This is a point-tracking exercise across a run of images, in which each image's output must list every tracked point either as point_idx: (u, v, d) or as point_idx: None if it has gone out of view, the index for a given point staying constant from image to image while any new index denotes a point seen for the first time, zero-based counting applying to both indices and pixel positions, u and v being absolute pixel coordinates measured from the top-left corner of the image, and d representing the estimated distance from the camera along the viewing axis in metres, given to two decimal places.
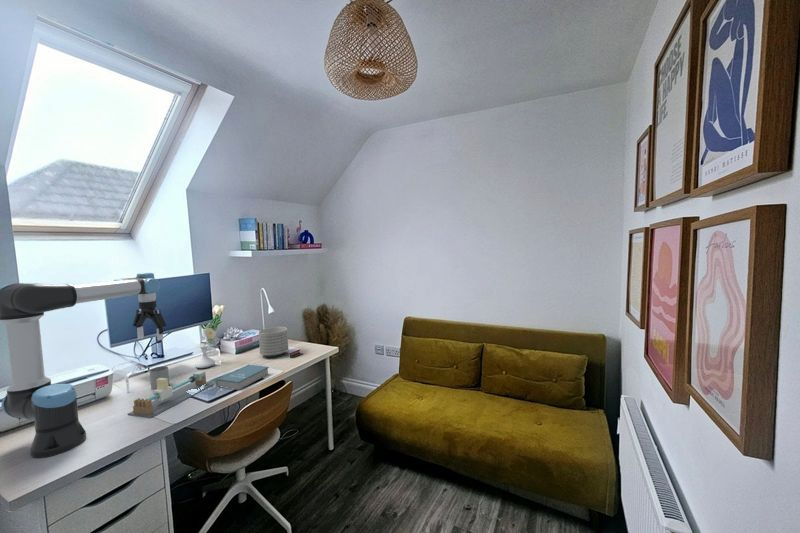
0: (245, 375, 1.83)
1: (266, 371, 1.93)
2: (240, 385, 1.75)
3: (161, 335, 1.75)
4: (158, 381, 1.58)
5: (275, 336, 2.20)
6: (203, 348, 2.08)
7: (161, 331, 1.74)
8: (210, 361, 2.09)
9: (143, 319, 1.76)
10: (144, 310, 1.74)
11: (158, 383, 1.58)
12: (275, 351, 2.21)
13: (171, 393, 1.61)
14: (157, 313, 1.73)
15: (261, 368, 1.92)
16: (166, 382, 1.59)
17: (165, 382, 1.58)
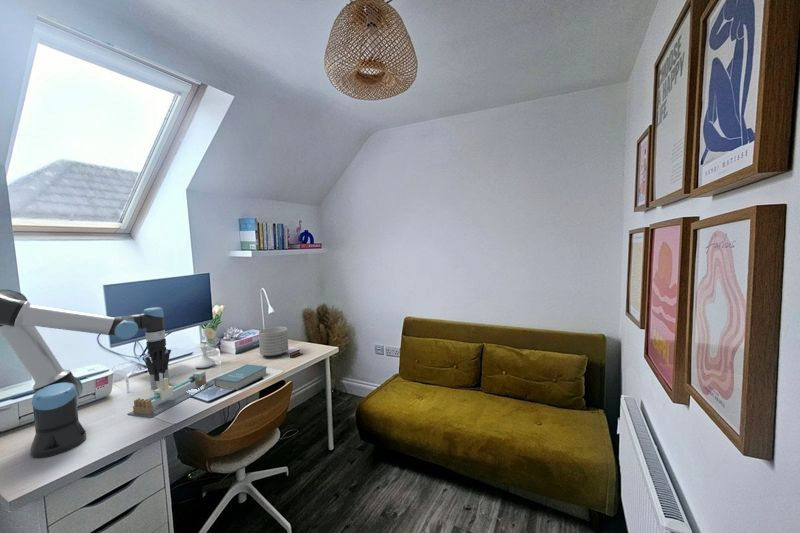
0: (243, 374, 1.83)
1: (264, 371, 1.94)
2: (238, 385, 1.75)
3: (159, 382, 1.57)
4: None
5: (275, 336, 2.20)
6: (203, 348, 2.08)
7: (155, 378, 1.56)
8: (210, 361, 2.09)
9: (159, 360, 1.58)
10: None
11: None
12: (275, 351, 2.21)
13: (171, 393, 1.61)
14: (145, 361, 1.52)
15: (259, 368, 1.92)
16: (167, 382, 1.59)
17: (166, 382, 1.59)
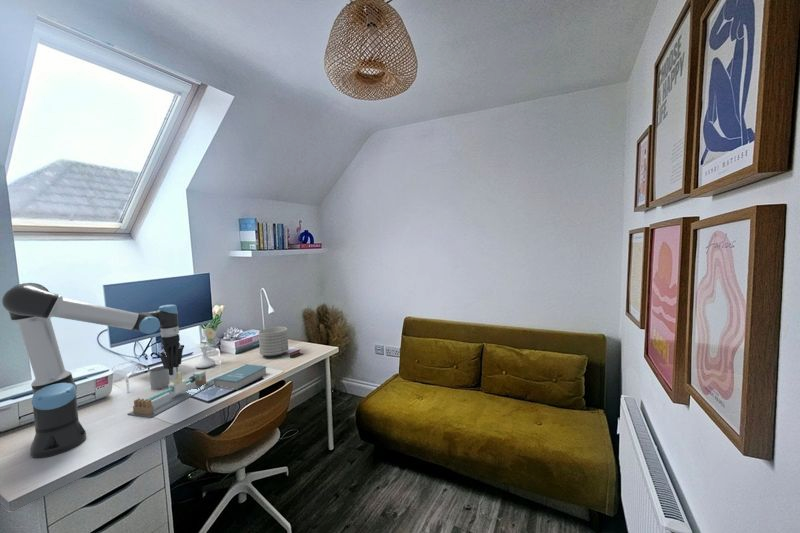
0: (243, 374, 1.83)
1: (264, 371, 1.94)
2: (238, 385, 1.75)
3: (173, 376, 1.64)
4: None
5: (275, 336, 2.20)
6: (203, 348, 2.08)
7: (169, 372, 1.63)
8: (210, 361, 2.09)
9: (173, 355, 1.65)
10: None
11: None
12: (275, 351, 2.21)
13: (184, 387, 1.69)
14: (160, 355, 1.59)
15: (259, 368, 1.92)
16: (180, 376, 1.66)
17: (179, 376, 1.66)
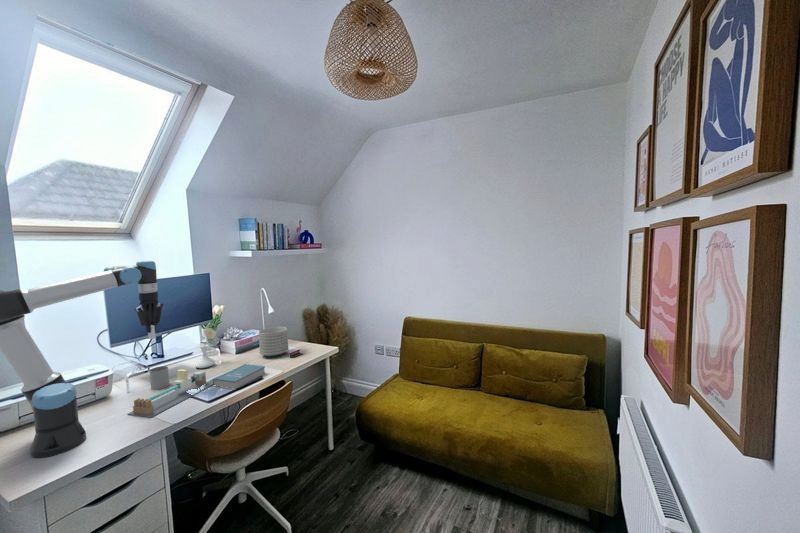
0: (241, 374, 1.83)
1: (263, 371, 1.94)
2: (236, 384, 1.76)
3: (150, 334, 1.60)
4: (178, 372, 1.69)
5: (275, 336, 2.20)
6: (203, 348, 2.08)
7: (147, 330, 1.59)
8: (210, 361, 2.09)
9: (151, 313, 1.61)
10: None
11: (178, 374, 1.69)
12: (275, 351, 2.21)
13: (190, 384, 1.72)
14: (137, 311, 1.55)
15: (258, 368, 1.93)
16: (186, 373, 1.70)
17: (185, 373, 1.69)
